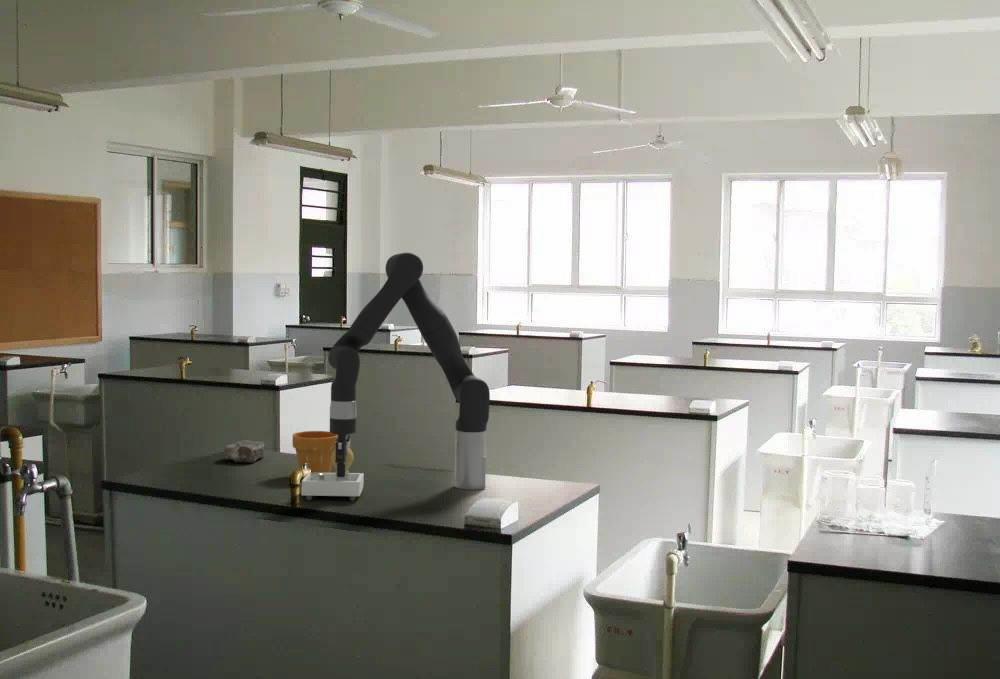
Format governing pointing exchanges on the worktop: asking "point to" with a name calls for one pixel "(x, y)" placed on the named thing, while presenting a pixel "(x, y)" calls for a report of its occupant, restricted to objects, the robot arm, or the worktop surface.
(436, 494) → the worktop surface
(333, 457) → the amber frosted bulb
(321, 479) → the grey rounded piece
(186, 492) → the worktop surface
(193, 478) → the worktop surface
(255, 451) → the rock
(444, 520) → the worktop surface
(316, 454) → the flower pot
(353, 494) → the tray
